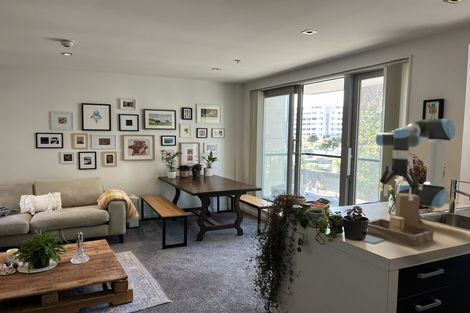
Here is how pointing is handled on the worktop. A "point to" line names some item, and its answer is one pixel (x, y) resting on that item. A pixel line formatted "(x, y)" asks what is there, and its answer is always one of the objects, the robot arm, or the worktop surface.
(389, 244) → the worktop surface
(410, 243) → the brown wooden tray
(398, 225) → the oak block
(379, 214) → the worktop surface
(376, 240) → the mat
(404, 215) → the wooden block
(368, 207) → the worktop surface
